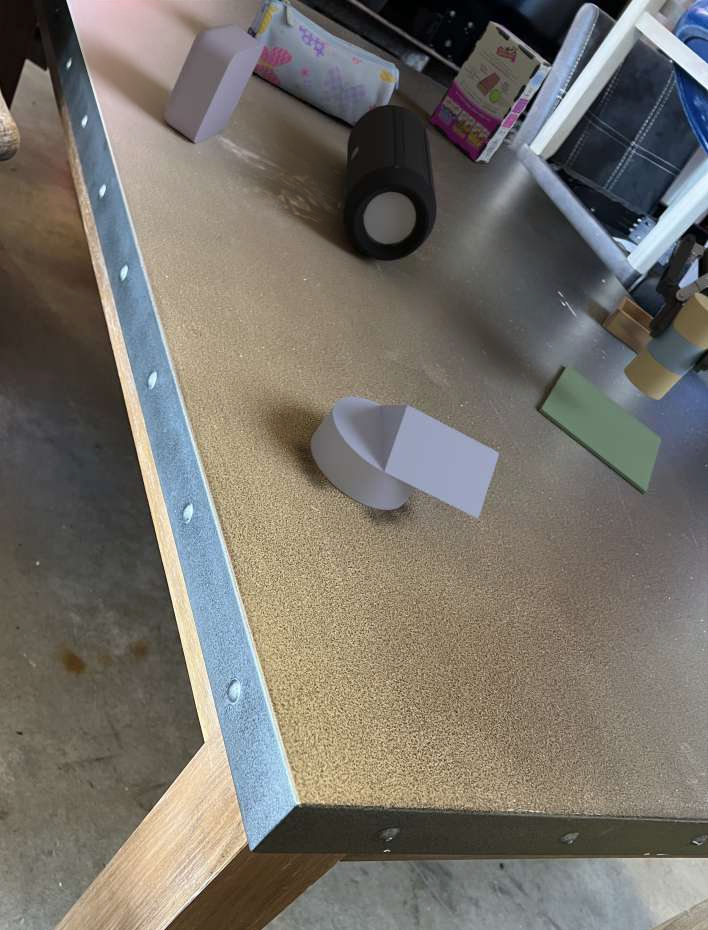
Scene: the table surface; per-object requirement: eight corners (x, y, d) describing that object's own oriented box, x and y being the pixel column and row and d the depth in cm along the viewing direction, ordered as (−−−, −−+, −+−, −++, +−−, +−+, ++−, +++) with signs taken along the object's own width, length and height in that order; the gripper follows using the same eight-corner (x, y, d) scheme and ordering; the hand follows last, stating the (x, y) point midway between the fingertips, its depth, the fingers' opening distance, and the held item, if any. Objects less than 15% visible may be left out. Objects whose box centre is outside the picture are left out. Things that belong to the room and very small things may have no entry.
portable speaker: (332, 157, 121) (375, 81, 115) (398, 197, 124) (444, 125, 118) (324, 241, 103) (375, 156, 96) (402, 286, 105) (457, 206, 99)
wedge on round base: (444, 478, 82) (312, 411, 79) (493, 420, 78) (356, 347, 74) (452, 547, 76) (308, 478, 72) (506, 488, 71) (356, 411, 68)
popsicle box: (488, 164, 157) (555, 67, 146) (474, 163, 153) (542, 63, 143) (441, 122, 159) (503, 23, 149) (426, 120, 156) (489, 18, 145)
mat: (659, 441, 113) (661, 438, 113) (643, 494, 101) (646, 491, 101) (565, 367, 114) (567, 364, 114) (538, 411, 101) (541, 408, 101)
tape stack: (663, 390, 105) (734, 317, 99) (658, 405, 101) (732, 330, 95) (627, 362, 105) (696, 287, 99) (621, 376, 102) (692, 299, 95)
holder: (650, 344, 136) (666, 328, 135) (645, 359, 131) (661, 342, 129) (609, 312, 137) (624, 295, 135) (601, 325, 131) (617, 308, 129)
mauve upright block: (190, 105, 109) (230, 16, 103) (224, 129, 109) (266, 43, 103) (154, 119, 101) (195, 24, 95) (191, 145, 102) (234, 53, 95)
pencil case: (231, 67, 125) (266, -8, 119) (234, 46, 131) (267, -25, 125) (368, 147, 131) (407, 80, 125) (365, 124, 137) (403, 59, 131)
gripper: (737, 168, 97) (636, 293, 95) (850, 256, 96) (751, 383, 95) (700, 205, 104) (606, 322, 103) (805, 288, 104) (713, 406, 102)
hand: (677, 351), depth 99 cm, fingers closed on tape stack, 5 cm apart
